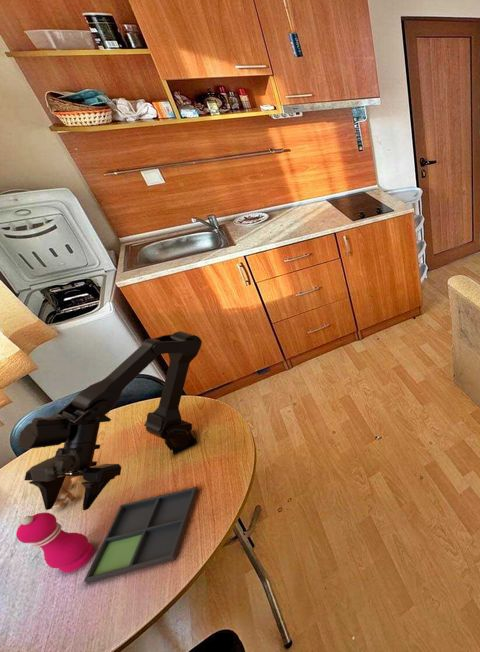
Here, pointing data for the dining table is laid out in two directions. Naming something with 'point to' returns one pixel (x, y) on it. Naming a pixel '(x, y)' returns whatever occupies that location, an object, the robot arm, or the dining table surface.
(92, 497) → the robot arm
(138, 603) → the dining table surface
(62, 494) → the lion figurine
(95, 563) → the grid
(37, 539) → the pepper mill
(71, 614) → the dining table surface
